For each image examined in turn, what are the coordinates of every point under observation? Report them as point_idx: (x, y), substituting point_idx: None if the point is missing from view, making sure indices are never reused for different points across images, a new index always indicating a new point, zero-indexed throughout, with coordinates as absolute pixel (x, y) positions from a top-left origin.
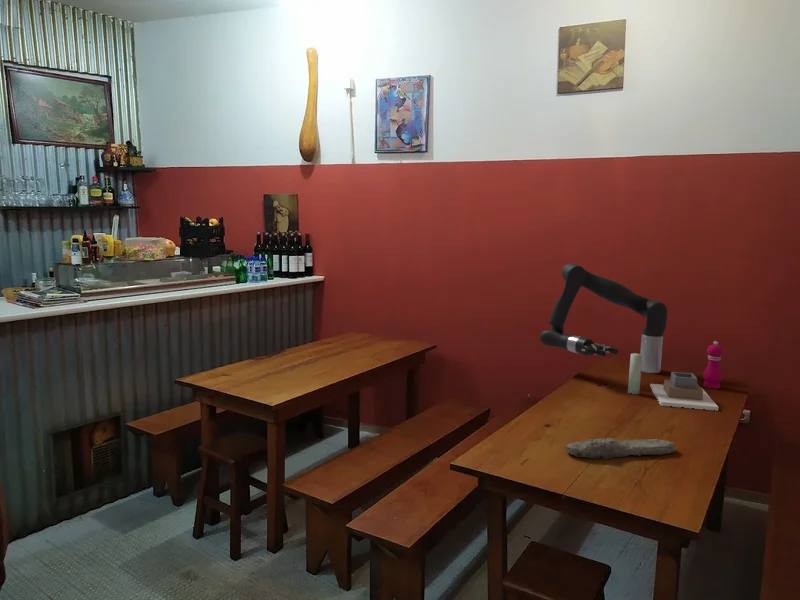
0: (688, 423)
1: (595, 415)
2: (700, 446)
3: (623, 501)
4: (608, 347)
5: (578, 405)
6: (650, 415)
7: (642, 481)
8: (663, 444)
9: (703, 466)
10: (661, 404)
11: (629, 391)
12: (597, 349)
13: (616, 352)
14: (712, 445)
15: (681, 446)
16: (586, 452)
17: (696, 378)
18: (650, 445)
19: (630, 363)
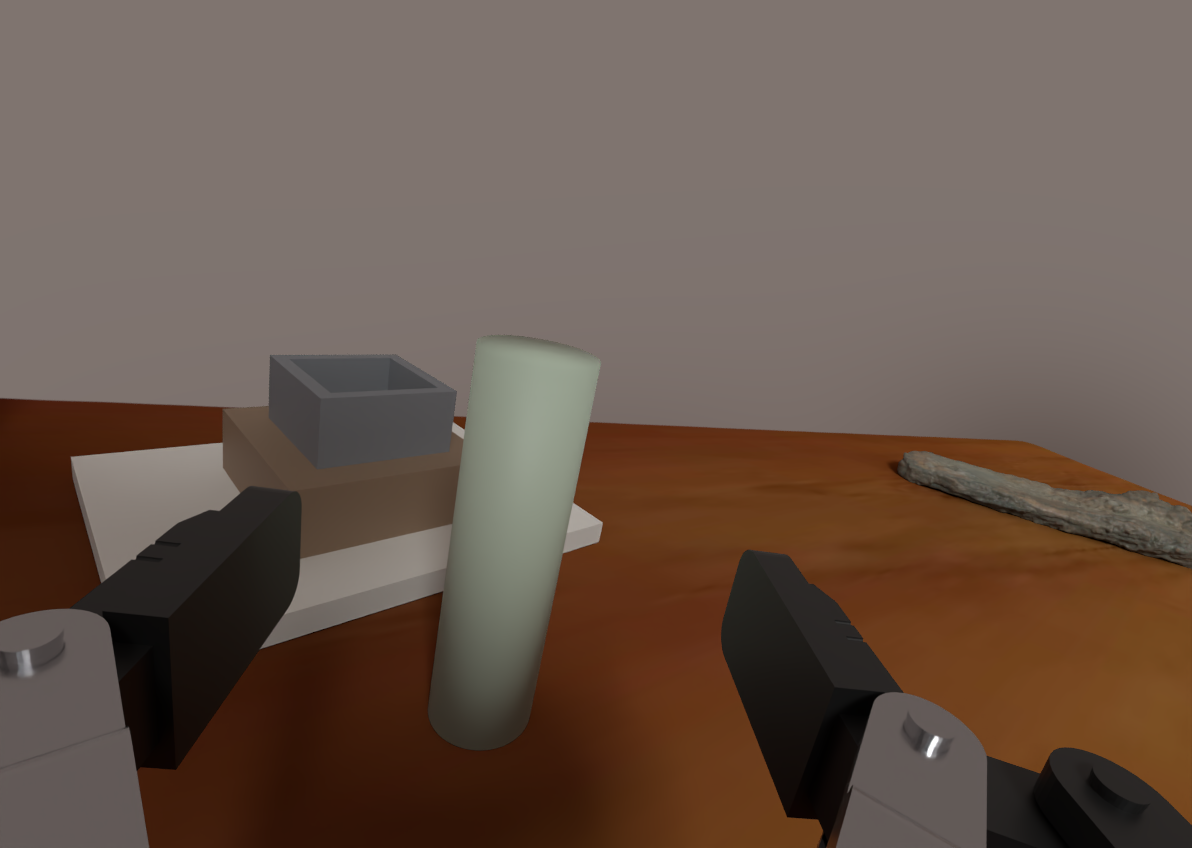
0: (690, 470)
1: (1072, 660)
2: (805, 448)
3: (1125, 484)
4: (121, 668)
5: (1177, 808)
6: (767, 539)
7: (1057, 481)
8: (942, 460)
9: (879, 442)
10: (598, 534)
11: (531, 707)
12: (884, 699)
13: (292, 563)
14: (769, 438)
15: (857, 465)
16: None
17: (396, 355)
18: (984, 471)
19: (573, 468)
